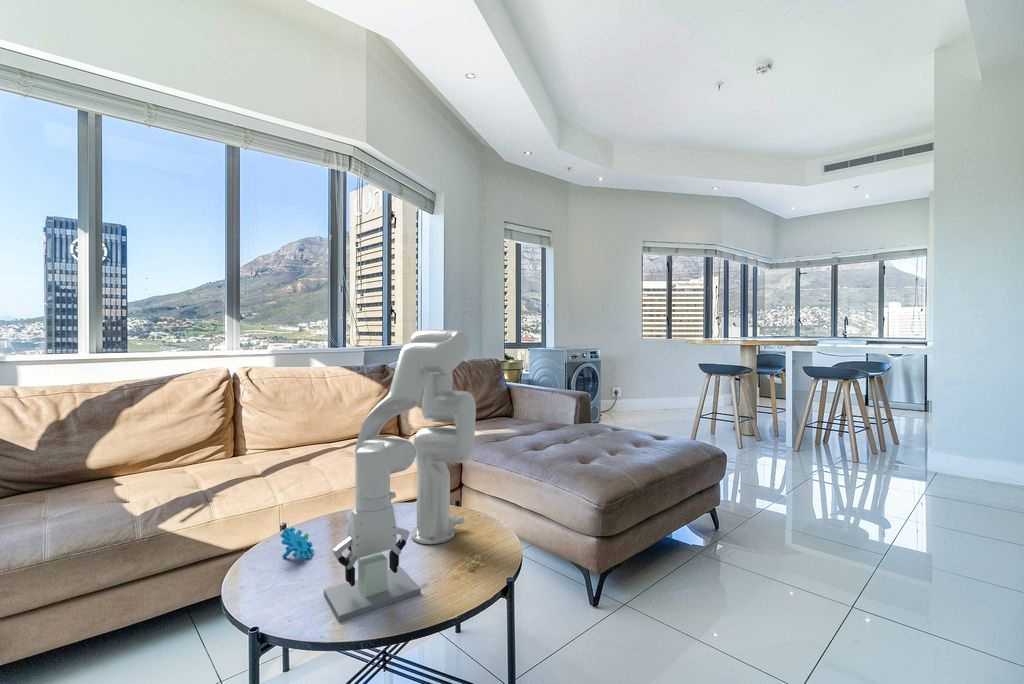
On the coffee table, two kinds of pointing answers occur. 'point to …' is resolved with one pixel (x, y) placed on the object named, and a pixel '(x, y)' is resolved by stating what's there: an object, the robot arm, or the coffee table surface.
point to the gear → (296, 543)
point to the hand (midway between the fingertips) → (372, 576)
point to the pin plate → (355, 603)
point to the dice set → (473, 562)
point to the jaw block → (372, 574)
